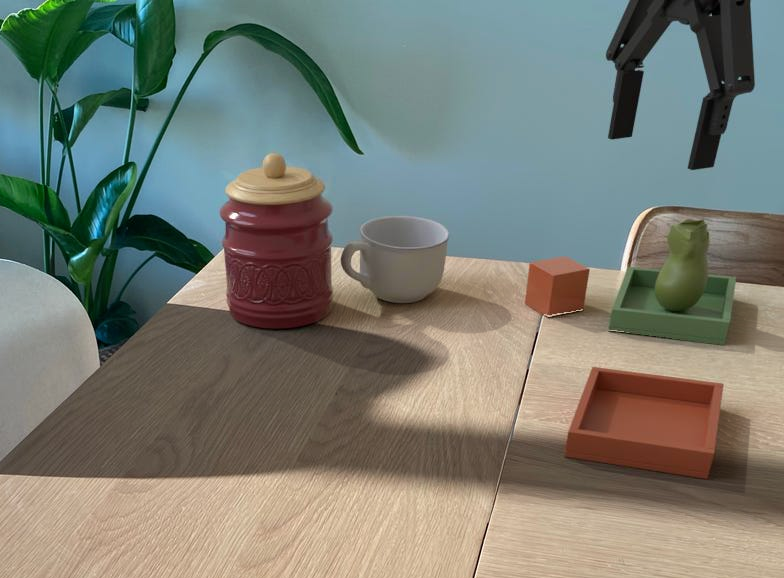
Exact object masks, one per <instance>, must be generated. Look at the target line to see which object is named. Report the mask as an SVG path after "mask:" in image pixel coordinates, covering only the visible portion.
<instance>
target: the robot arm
mask: <svg viewBox="0 0 784 578" xmlns="http://www.w3.org/2000/svg"><path fill="white" fill-rule="evenodd" d="M751 3H752V0H629V1H628V3H627V5H626V7H625V10H624V11H623V14H622V16H621V19H620V20H619V23H618V25H617V27H616V29H615V31H614V33H613V37H612V39H611V40H610V43H609V45H608V47H607V49H606V52H605V59H606V60H607V61H611V62H612V63H613V64H614V68H615V70H616V76H615V82H614V88H613V93H612V103H613V106H612V111H611V117H610V123H609V129H608V134H607V139H608V140H609V139H610V140H612V141H613V140H619V139H626V138H632V137H633V134H634V128H635V122H636V118H637V117H636V116H637V113H638V112H637V111H638V107H639V101H640V95H641V90H642V85H643V79H644V74H645V71H644V70H641V69H643V68H644V67H645V65H644V63H643V62H644V60H645V59H646V58H647V57H648V55H649V54H650V52H651V51H652V50H653V48H654V47H655V45H656V44H657V43H658V41H659V40H660V39H661V37H662V36H663V35H664V33H665V32H666V31H667V29H668V28H669V26H670V25H671V24H672V22H679V23H680V24H681V25H686V26H689V29H690V31H691V32H692V33H694V34H695V35H696V40H697V44H698V48H699V51H700V55H701V59H702V64H703V68H704V73H705V77H706V80H707V85H708V88H709V92H708V93H707V94H706V95H705V96H703V97H702V102H701V106H700V111H699V115H698V119H697V123H696V127H695V132H694V137H693V142H692V146H691V151H690V154H689V159H688V164H687V169H688V170H690V171H694V170H695V171H697V170H705V169H709V168H714V167H715V163H716V159H717V154H718V151H719V146H720V142H721V138H722V135H724V134H725V132H726V130H727V129H728V124H729V121H730V120H729V119H730V116H731V111H732V108H733V103H734V100H735V99H736V97H738V96H740V95H744V94H748V93H750V94H751V93H752V92H753V91H754V90H755V87H756V82H755V79H756V77H755V61H754V45H753V43H754V42H753V27H752V25H753V23H752V8H751ZM636 69H637V70H636ZM739 78H740V79H739Z"/></svg>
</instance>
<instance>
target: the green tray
mask: <svg viewBox="0 0 784 578" xmlns="http://www.w3.org/2000/svg"><path fill="white" fill-rule="evenodd" d="M660 271H661V269H659V268H658V269H657V268H647V267H635V266H628V267H627V268H626V271H625V274H624V277H623V280H622V282H621V284H620V287H619V290H618V292H617V295H616V298H615V300H614V303H613V306H612V308H611V313H610V319H609V325H608V329H609V330H617V331H624V332H629V333H635V334H642V335H641V336H643V335H649V336H648V337H651V336H656V337H655V338H660V337H666V338H665V339H668V338H672V339H671V340H677V339H679V340H680V341H686V342H694V343H703V344H710V345H711V344H713V345H720V346H721V345H722V346H725V344H726V339H727V336H728V332H729V328H730V324H731V319H732V312H733V304H734V296H735V290H736V283H737V276H730V275H729V276H728V275H718V274H709V273H708V279H707V284H706V287H705V290H704V292H703V294H702V296H701V298H700V299H699V301H698V302H697V303H696V304H695V305H694V306H692V307H691V308H689V309H686V310H683V311H671V310H668V309H665V308H664V307H662V306H661V305H660V304H659V303H658V301H657V299H656V296H655V283H656V280H657V277H658V275H659V273H660ZM657 336H659V337H657ZM679 340H678V341H679Z"/></svg>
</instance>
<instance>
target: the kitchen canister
mask: <svg viewBox="0 0 784 578" xmlns="http://www.w3.org/2000/svg"><path fill="white" fill-rule="evenodd" d="M325 190H326V185H325V182H324V181H323V180H321V179H319V178H318V177H316V176H314V175H313V174H312V172H311V171H309V170H308V169H304V168H302V167H296V166H287V163H286V160H285V158H284V156H282V154H280V153H277V152H271V153H267V155H265V157H264V159H263V162H262V167H256V168H252V169H247V170H245V171H243V172H241V173H239V174H238V175H237V177H235V179H233V180H232V181H231V182H229V183H228V184H227V185H226V187H225V189H224V191H225V194H226V196H227V197H228V201H226V202H225V203H224V204H223V205H222V206H221V207H220V209H219V216H220V218H221V219H222V220H223V221H224V224H225V228H224V229H225V230H224V231H225V233H224V235H223V237H222V240H221V244H222V247H223V253H224V265H225V266H224V267H225V278H226V291H225V296H226V304H227V307H228V311H229V314H230V316H231V317H232V318H233V319H234V320H235V321H237V322H239V323H241V324H244V325H246V326H250V327H254V328H260V329H271V330H272V329H273V330H274V329H275V330H276V329H277V330H281V329H293V328H299V327H304V326H308V325H311V324H314V323H316V322H319V321H321V320H322V319H324V318H325V317H327V316H328V315H329V314H330V312H331V310H332V303H333V300H334V287H333V282H332V279H333V277H332V275H333V273H332V272H333V271H332V243H333V241H334V238H333V234H332V232H331V231H330V230H329V217H330V216H331V215H332V213H333V208H334V207H333V205H332V204H331V202H330V201H329V200H328V199H327V198H325V197H324V196H323V195H322V194H323V193H324V192H325Z"/></svg>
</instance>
